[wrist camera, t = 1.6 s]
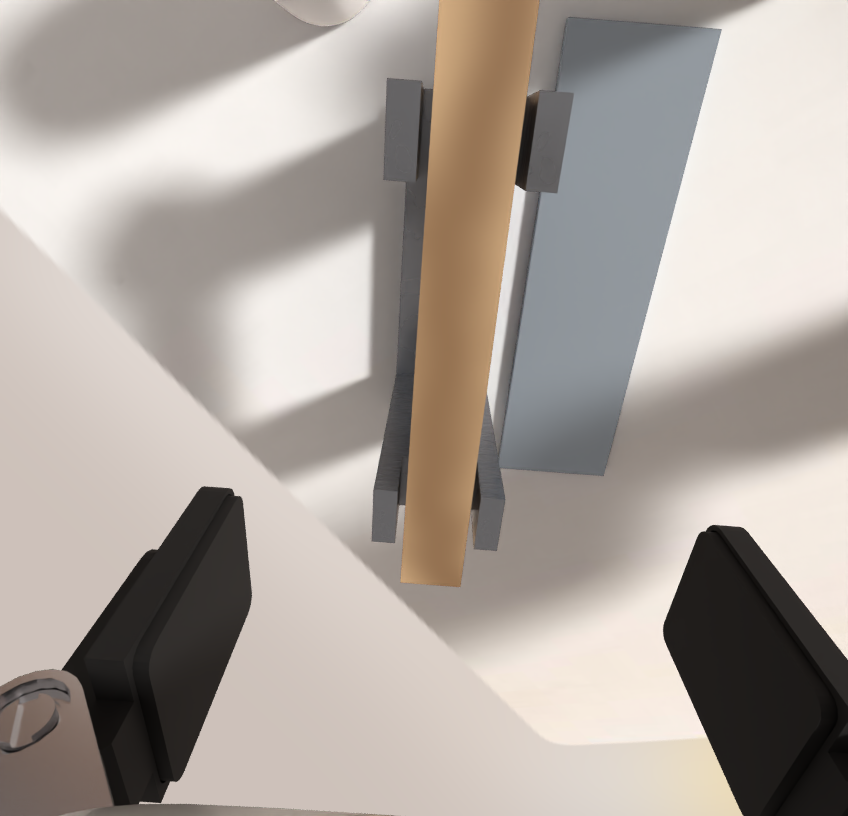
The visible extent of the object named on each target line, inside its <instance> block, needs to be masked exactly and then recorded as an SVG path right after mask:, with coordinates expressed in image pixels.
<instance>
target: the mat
mask: <svg viewBox="0 0 848 816" xmlns="http://www.w3.org/2000/svg"><path fill="white" fill-rule="evenodd" d="M721 30H722V29H713V28H700V27H688V26H675V25H662V24H650V23H637V22H624V21H612V20H599V19H586V18H574V17H569V18H568V19H567V21H566V27H565V34H564V40H563V46H562V53H561V59H560V66H559V72H558V78H557V85H556V91H557V92H570V93H574V98H573V104H572V110H571V116H570V122H569V127H568V133H567V139H566V145H565V151H564V157H563V163H562V169H561V175H560V181H559V186H558V192H557V193H546V192H540V194H539V200H538V207H537V213H536V220H535V226H534V233H533V239H532V245H531V252H530V258H529V265H528V271H527V278H526V284H525V290H524V297H523V303H522V310H521V316H520V323H519V329H518V335H517V342H516V348H515V355H514V361H513V367H512V374H511V380H510V387H509V393H508V400H507V406H506V412H505V419H504V425H503V432H502V438H501V445H500V451H499V457H498V460H499V466H500V468H507V469H520V470H533V471H546V472H559V473H572V474H585V475H598V476H604V472H605V468H606V465H607V461H608V457H609V453H610V449H611V446H612V442H613V438H614V434H615V431H616V427H617V423H618V419H619V415H620V412H621V408H622V404H623V400H624V397H625V393H626V389H627V385H628V381H629V378H630V374H631V370H632V366H633V363H634V359H635V355H636V351H637V347H638V344H639V340H640V336H641V332H642V329H643V325H644V321H645V317H646V313H647V310H648V306H649V302H650V298H651V295H652V291H653V287H654V283H655V279H656V276H657V272H658V268H659V264H660V261H661V257H662V253H663V249H664V245H665V242H666V238H667V234H668V230H669V226H670V223H671V219H672V215H673V211H674V208H675V204H676V200H677V196H678V192H679V189H680V185H681V181H682V177H683V174H684V170H685V166H686V162H687V158H688V155H689V151H690V147H691V143H692V140H693V136H694V132H695V128H696V124H697V121H698V117H699V113H700V109H701V106H702V102H703V98H704V94H705V90H706V87H707V83H708V79H709V75H710V72H711V68H712V64H713V60H714V56H715V53H716V49H717V45H718V41H719V38H720V34H721Z"/></svg>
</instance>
